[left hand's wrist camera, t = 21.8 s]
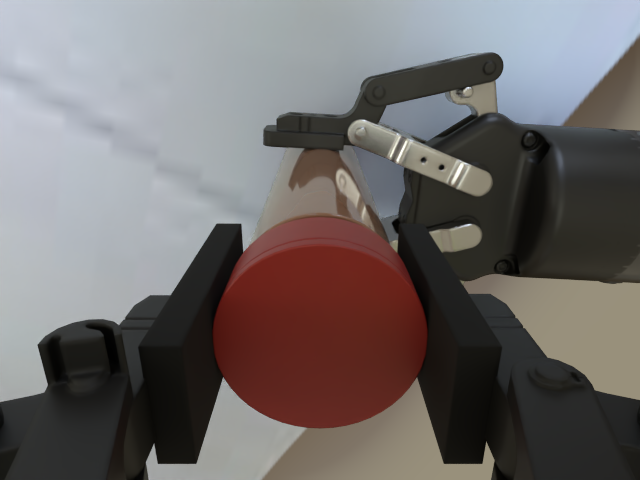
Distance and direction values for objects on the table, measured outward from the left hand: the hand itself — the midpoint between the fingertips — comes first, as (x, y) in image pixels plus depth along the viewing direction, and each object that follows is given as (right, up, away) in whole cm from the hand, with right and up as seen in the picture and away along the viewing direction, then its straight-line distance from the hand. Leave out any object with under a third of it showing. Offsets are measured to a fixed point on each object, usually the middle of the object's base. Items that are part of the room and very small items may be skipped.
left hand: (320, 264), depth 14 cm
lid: (0, -2, -4) cm, 4 cm away
